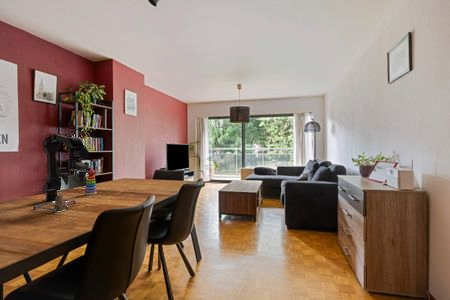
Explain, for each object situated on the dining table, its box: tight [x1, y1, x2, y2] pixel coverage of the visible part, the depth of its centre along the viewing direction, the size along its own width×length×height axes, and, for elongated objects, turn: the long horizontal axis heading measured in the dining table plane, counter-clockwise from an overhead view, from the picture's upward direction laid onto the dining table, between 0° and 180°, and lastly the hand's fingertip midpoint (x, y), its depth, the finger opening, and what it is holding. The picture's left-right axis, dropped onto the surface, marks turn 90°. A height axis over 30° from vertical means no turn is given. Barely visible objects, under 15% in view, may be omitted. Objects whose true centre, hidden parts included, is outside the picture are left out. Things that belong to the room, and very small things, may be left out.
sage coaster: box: [51, 208, 67, 213], centre depth 132 cm, size 5×5×1 cm
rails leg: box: [33, 203, 69, 214], centre depth 134 cm, size 17×8×2 cm, turn 69°
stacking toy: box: [83, 168, 97, 196], centre depth 177 cm, size 8×8×19 cm
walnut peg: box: [55, 195, 64, 212], centre depth 132 cm, size 3×3×8 cm
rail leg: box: [32, 198, 77, 211], centre depth 141 cm, size 8×20×2 cm, turn 159°
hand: (74, 183), depth 146 cm, fingers open, 9 cm apart
